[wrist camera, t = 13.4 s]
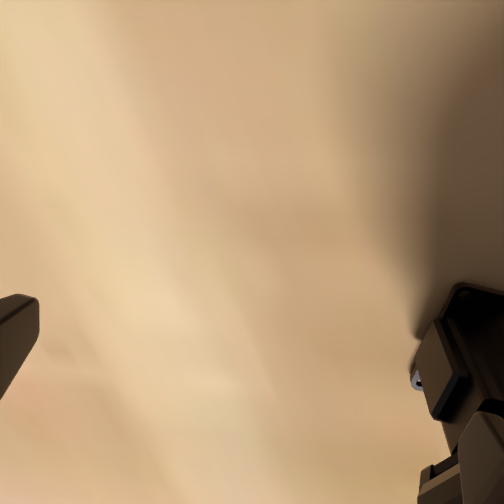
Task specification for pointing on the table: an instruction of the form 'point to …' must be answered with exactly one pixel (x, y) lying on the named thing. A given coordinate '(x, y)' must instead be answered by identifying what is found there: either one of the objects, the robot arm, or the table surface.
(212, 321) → the table surface
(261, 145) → the table surface
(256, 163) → the table surface
